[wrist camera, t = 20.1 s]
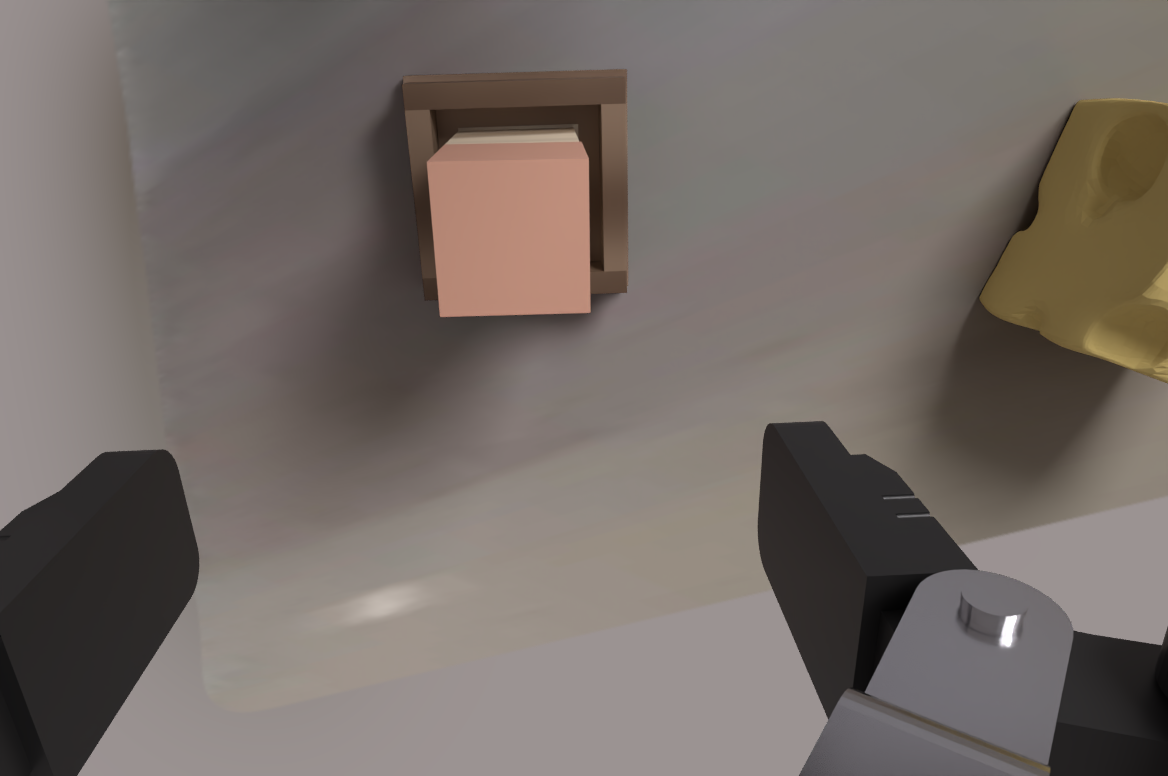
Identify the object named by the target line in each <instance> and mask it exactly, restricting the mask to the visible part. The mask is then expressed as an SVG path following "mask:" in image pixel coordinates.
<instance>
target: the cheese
mask: <svg viewBox="0 0 1168 776" xmlns="http://www.w3.org/2000/svg"><path fill="white" fill-rule="evenodd" d="M1038 200H1039V208H1038V212H1037V215H1036V217H1035V220H1034V221H1033V223H1032V224H1031V226H1030V227H1029V228H1028V229H1027V230H1025V231H1019V232H1017V233H1016V234H1015V235H1014V236H1013V237H1012V239H1011V240H1010V242H1009V244H1008V246H1007V248H1006V249H1005V251H1004V253H1003V255H1002V257H1001V259H1000V261H999V263H998V265H997V267H996V268H995V270H994V272H993V273H992V275H991V276H990V278H989V280H988V282H987V283H986V285H985V287H984V289H983V291H982V293H981V295H980V298H979V299H980V301H981V303H982V304H983V305H984V307H985V308H986V309H987V310H988V311H989V312H990V313H991V314H993V315H994V316H996V317H998V318H1000V319H1002V320H1005V321H1007V322H1010V323H1014V324H1017V325H1020V326H1024V327H1028V328H1031V329H1035V330H1038V331H1040V334H1041V335H1042V336H1044V337H1045V338H1047V339H1048V340H1050V341H1051V342H1053V343H1055V344H1057V345H1059V346H1061V347H1064V348H1067V349H1070V350H1073V351H1076V352H1080V353H1083V354H1087V355H1090V356H1094V357H1097V358H1100V359H1103V360H1106V361H1109V362H1112V363H1115V364H1117V365H1120V366H1123V367H1125V368H1128V369H1130V370H1133V371H1136V372H1139V373H1141V374H1144V375H1147V376H1149V377H1152V378H1155V379H1157V380H1160V381H1162V382H1165V383H1168V104H1167V103H1160V102H1155V101H1145V100H1136V99H1118V98H1116V99H1091V100H1080V101H1078V102H1077V104H1076V105H1075V107H1074V109H1073V111H1072V113H1071V115H1070V118H1069V120H1068V122H1067V124H1066V126H1065V128H1064V130H1063V132H1062V135H1061V137H1060V139H1059V141H1058V143H1057V145H1056V147H1055V150H1054V152H1053V154H1052V156H1051V159H1050V161H1049V163H1048V165H1047V167H1046V170H1045V172H1044V174H1043V177H1042V179H1041V182H1040V184H1039V195H1038Z"/></svg>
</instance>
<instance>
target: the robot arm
mask: <svg viewBox="0 0 1168 776" xmlns="http://www.w3.org/2000/svg"><path fill="white" fill-rule="evenodd" d="M758 542H759V550H760V556H761V560H762V564H763V567H764V570H765V572H766V575H767V577H768V579H769V582H770V584H771V586H772V589H773V591H774V593H775V596H776V598H777V600H778V603H779V605H780V607H781V610H782V612H783V614H784V617H785V619H786V621H787V623H788V626H789V628H790V630H791V633H792V636H793V638H794V640H795V643H796V645H797V647H798V650H799V652H800V654H801V657H802V659H803V661H804V663H805V666H806V668H807V671H808V673H809V675H810V677H811V680H812V682H813V685H814V687H815V689H816V692H817V694H818V696H819V699H820V701H821V703H822V705H823V708H824V710H825V713H826V715H827V717H828V722H827V724H826V726H825V728H824V729H823V731H822V733H821V735H820V737H819V739H818V741H817V743H816V744H815V746H814V748H813V750H812V752H811V754H810V756H809V758H808V760H807V761H806V764H805V765H804V767H803V769H802V771H801V773H800V775H799V776H1168V628H1167V631H1166V634H1165V637H1164V641H1163V644H1162V645H1156V644H1149V643H1142V642H1136V641H1130V640H1124V639H1117V638H1111V637H1104V636H1097V635H1092V634H1087V633H1082V632H1077V631H1073V627H1072V624H1071V622H1070V620H1069V618H1068V616H1067V614H1066V613H1065V612H1064V611H1063V610H1062V608H1060V606H1059V605H1058V604H1056V603H1055V602H1054V601H1053V600H1052V599H1051V598H1049V597H1048V596H1046V595H1045V594H1043V593H1042V592H1040V591H1039V590H1037V589H1035V588H1033V587H1031V586H1029V585H1027V584H1025V583H1023V582H1020V581H1018V580H1016V579H1013V578H1009V577H1007V576H1003V575H1000V574H996V573H991V572H986V571H979V570H978V569H977V568H976V567H975V566H974V564H973V563H972V562H971V561H970V560H969V558H968V557H967V556H966V555H965V554H964V552H963V551H962V550H961V549H960V548H959V546H958V545H957V544H956V543H955V542H954V541H953V539H952V538H951V537H950V536H949V535H948V533H947V532H946V531H945V530H944V529H943V527H942V526H941V525H940V524H939V523H938V521H937V520H936V519H935V518H934V517H930V514H929V511H928V509H927V508H926V507H925V506H924V505H923V504H922V502H921V501H920V500H919V499H918V498H915V497H914V493H913V492H912V490H911V489H910V488H909V487H908V486H907V484H906V483H905V482H904V481H903V480H902V478H901V477H900V476H899V475H898V474H897V472H895V471H893V470H892V469H890V468H888V467H887V466H885V465H883V464H881V463H880V462H878V461H876V460H874V459H873V458H871V457H869V456H868V455H866V454H861V455H850V454H849V452H848V451H847V450H846V448H845V447H844V446H843V445H842V443H841V442H840V441H839V439H838V438H837V437H836V435H835V434H834V433H833V431H832V430H831V429H830V427H829V426H828V425H827V424H826V423H825V422H823V421H815V422H793V423H770V424H768V425H767V427H766V429H765V433H764V439H763V451H762V466H761V482H760V497H759V512H758ZM198 574H199V552H198V547H197V543H196V539H195V535H194V531H193V527H192V523H191V519H190V515H189V511H188V507H187V503H186V499H185V495H184V490H183V486H182V482H181V478H180V474H179V470H178V467H177V464H176V462H175V459H174V458H173V456H172V455H171V454H170V453H169V452H168V451H166V450H141V451H118V452H105V453H102V454H100V455H99V456H98V457H97V458H95V460H93V461H92V462H91V463H90V464H89V465H88V466H87V467H86V468H85V469H84V470H82V471H81V472H80V473H79V474H78V475H77V476H76V477H75V478H74V479H73V480H72V481H70V482H69V483H68V484H67V485H66V486H65V487H64V488H63V489H62V490H61V491H59V492H57V493H56V494H53V495H52V496H50V497H48V498H46V499H44V500H42V501H41V502H39V503H37V504H36V505H33V506H31V507H30V508H28V509H26V510H24V511H22V512H21V513H20V514H19V515H18V516H16V517H15V518H14V519H13V520H12V521H11V522H10V523H9V524H7V525H6V526H5V527H4V528H3V529H2V530H1V531H0V776H77V775H78V773H79V772H80V770H81V769H82V767H83V766H84V764H85V763H86V761H87V759H88V758H89V756H90V755H91V753H92V752H93V750H94V748H95V747H96V745H97V744H98V742H99V741H100V739H101V738H102V736H103V734H104V733H105V731H106V730H107V728H108V727H109V725H110V724H111V722H112V720H113V719H114V717H115V715H116V714H117V713H118V711H119V709H120V708H121V706H122V705H123V703H124V702H125V700H126V699H127V697H128V695H129V694H130V692H131V691H132V689H133V687H134V686H135V684H136V683H137V681H138V680H139V678H140V676H141V675H142V674H143V672H144V670H145V669H146V667H147V666H148V664H149V663H150V661H151V659H152V658H153V656H154V655H155V653H156V652H157V650H158V649H159V646H160V645H161V644H162V642H163V641H164V639H165V638H166V636H167V634H168V633H169V631H170V630H171V628H172V627H173V625H174V624H175V622H176V620H177V619H178V617H179V616H180V614H181V613H182V611H183V610H184V608H185V606H186V605H187V603H188V602H189V600H190V599H191V597H192V595H193V593H194V590H195V588H196V584H197V580H198Z"/></svg>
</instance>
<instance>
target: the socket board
mask: <svg viewBox="0 0 1168 776" xmlns="http://www.w3.org/2000/svg"><path fill="white" fill-rule="evenodd" d="M403 83H404V84H402V90H403V99H404V109H405V118H406V128H407V137H408V147H409V156H410V165H411V175H412V184H413V194H414V203H415V213H416V222H417V231H418V241H419V250H420V260H421V269H422V279H423V288H424V297H425V300H439V299H438V287H437V275H436V264H435V252H434V240H433V229H432V217H431V206H430V194H429V182H428V171H427V161H428V160H429V159H430V158H431V157H432V156H433V155H434V154H435V153H436V152H437V151H438V150H439V149H440V148H441V147H442V146H444V145H445V144H446V143H447V142H448V141H449V140H450V139H451V138H452V137H453V136H454V135H455V134H456V133H457V132H458V131H482V130H511V129H540V128H569V127H573V128H574V130H575V132H576V135H577V137H578V140H579V142H582V144H583V146H584V149H585V151H586V153H587V156H588V158H589V223H590V294H603V293H627V286H628V179H627V69H614V70H580V71H547V72H513V73H480V74H446V75H413V76H403Z"/></svg>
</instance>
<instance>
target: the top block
mask: <svg viewBox="0 0 1168 776" xmlns="http://www.w3.org/2000/svg"><path fill="white" fill-rule="evenodd" d="M427 171H428V182H429V194H430V206H431V217H432V229H433V240H434V252H435V264H436V275H437V287H438V299H439V310H440V317H458V316H494V315H531V314H567V313H591V311H590V223H589V158H588V156H587V153H586V151H585V149H584V146H583V144H582V142H540V143H489V144H445V145H444V146H442V147H441V148H440V149H439V150H438V151H437V152H436V153H435V154H434V155H433V156H432V157H431V158H430V159H429V160H428V161H427Z"/></svg>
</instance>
